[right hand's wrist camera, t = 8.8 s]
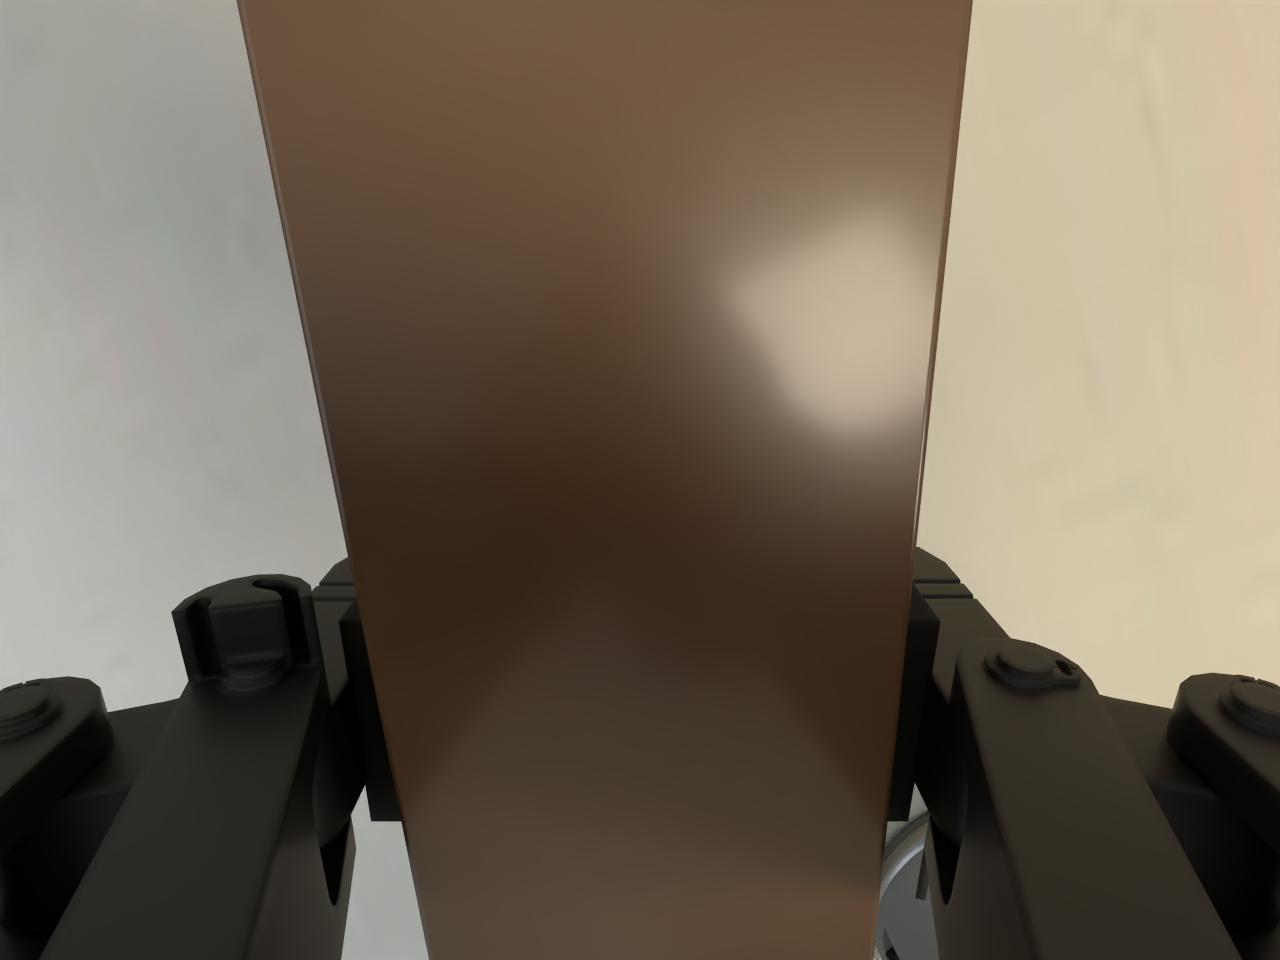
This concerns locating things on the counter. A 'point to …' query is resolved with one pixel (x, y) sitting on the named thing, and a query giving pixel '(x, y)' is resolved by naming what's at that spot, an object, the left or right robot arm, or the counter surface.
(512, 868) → the bar
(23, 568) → the counter surface
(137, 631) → the counter surface
